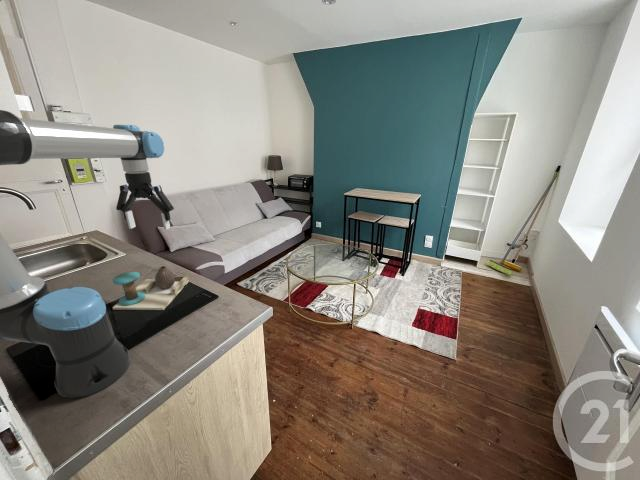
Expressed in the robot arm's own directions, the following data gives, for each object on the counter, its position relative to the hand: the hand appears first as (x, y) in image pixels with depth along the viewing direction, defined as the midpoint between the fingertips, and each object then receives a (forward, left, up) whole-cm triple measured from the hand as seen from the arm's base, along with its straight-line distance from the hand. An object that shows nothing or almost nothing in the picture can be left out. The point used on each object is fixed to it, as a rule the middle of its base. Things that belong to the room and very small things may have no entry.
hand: (150, 228), depth 101 cm
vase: (-3, -3, -24) cm, 25 cm away
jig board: (-7, 0, -25) cm, 26 cm away
